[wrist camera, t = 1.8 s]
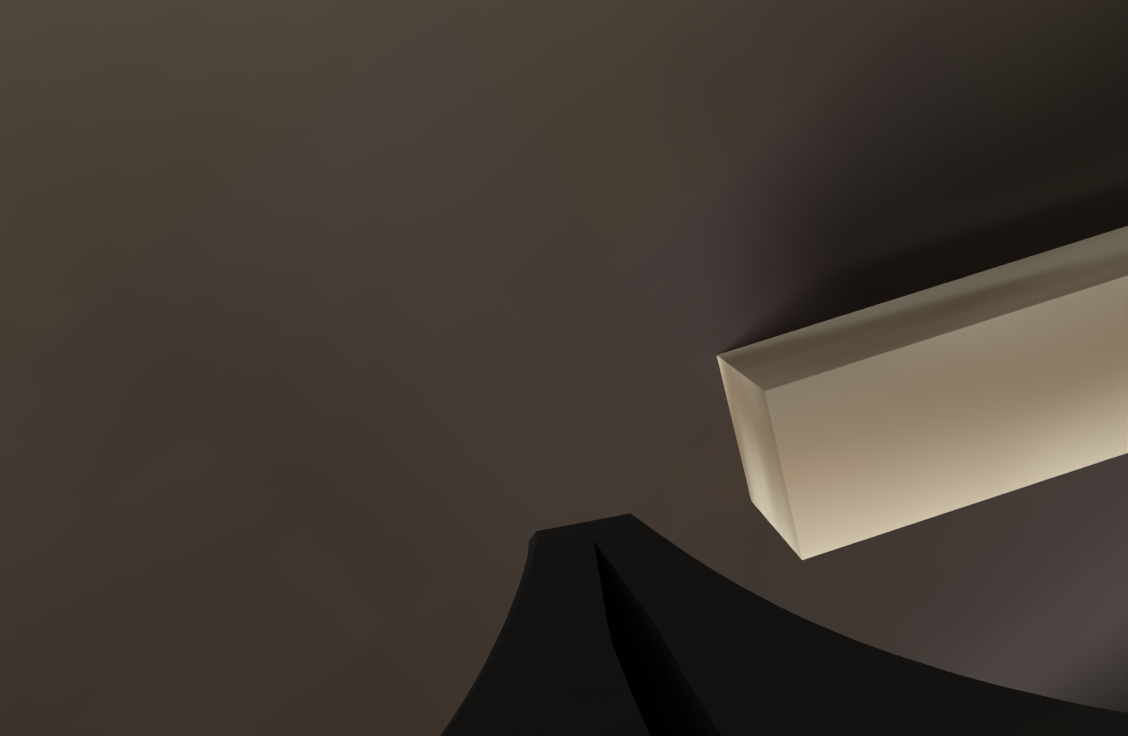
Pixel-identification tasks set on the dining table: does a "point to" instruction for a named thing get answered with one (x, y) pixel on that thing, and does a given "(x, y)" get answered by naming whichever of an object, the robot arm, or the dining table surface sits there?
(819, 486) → the slat
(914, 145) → the dining table surface
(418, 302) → the dining table surface
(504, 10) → the dining table surface
